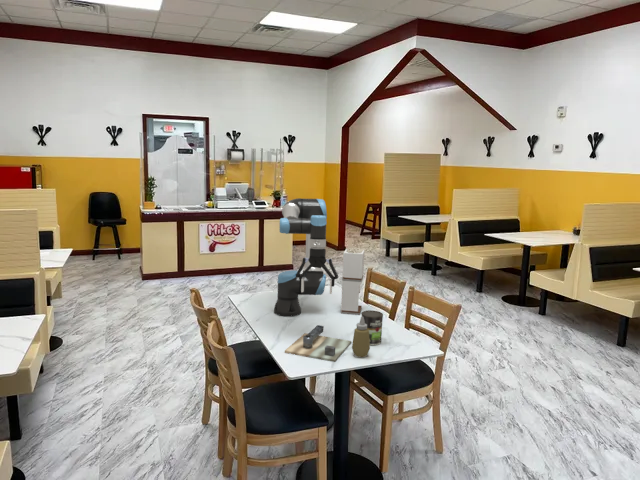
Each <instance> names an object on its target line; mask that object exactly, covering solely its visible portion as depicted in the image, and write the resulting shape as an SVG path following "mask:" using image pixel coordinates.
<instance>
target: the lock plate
mask: <svg viewBox="0 0 640 480" xmlns="http://www.w3.org/2000/svg"><path fill="white" fill-rule="evenodd" d="M305 335H306V337H310V334H308V332H307V333H306V332H305V333H303V334H301V336H300V337H298V338H297V339H296V340H295V341H294V342H293V343H292V344H291V345H289V346H288V347H287V348H285V350H284V354H289V353H291V354H290V355H294V354H295V355H294V356H301V357H304V358H305V357H306V358H310V359H317V360H321V361H322V360H323V361H327V362H332V363H335V362H337V361H338V360H339V358H340V357H341V356H342V354H343V353H344V352H345V351H346V350H347V349H348V348H349V346H350V345H352V340H348V339H344V338H343V339H341V338H338V337H337V338H336V337H330V336H323V335H319V336H318V337H317V338H316V339H315V340H313V347H312V348H304V347H303V336H305Z"/></svg>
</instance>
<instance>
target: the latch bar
mask: <svg viewBox="0 0 640 480" xmlns="http://www.w3.org/2000/svg"><path fill="white" fill-rule="evenodd" d="M324 326H325V325H320V324H319V325H316V326H315V327H314V328H313V329H312V330H311V331H309V332H307V334H310V337H306V335H305V336H303V347H304V348H312V347H313V340H315V339H316V338H317V337H318V336H321V334H323V333H324Z"/></svg>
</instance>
